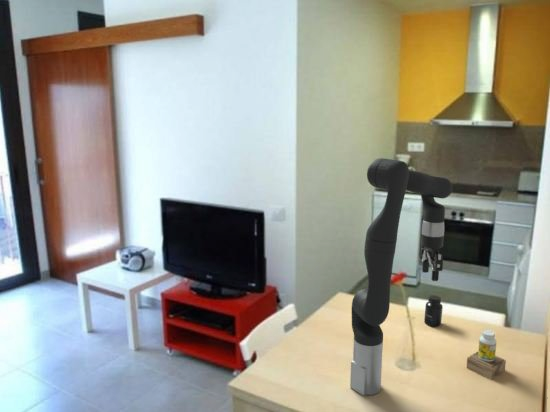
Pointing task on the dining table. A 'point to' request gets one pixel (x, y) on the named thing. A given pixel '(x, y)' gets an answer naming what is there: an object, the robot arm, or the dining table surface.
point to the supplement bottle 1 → (433, 311)
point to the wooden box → (486, 366)
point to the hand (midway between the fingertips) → (429, 276)
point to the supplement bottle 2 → (487, 346)
